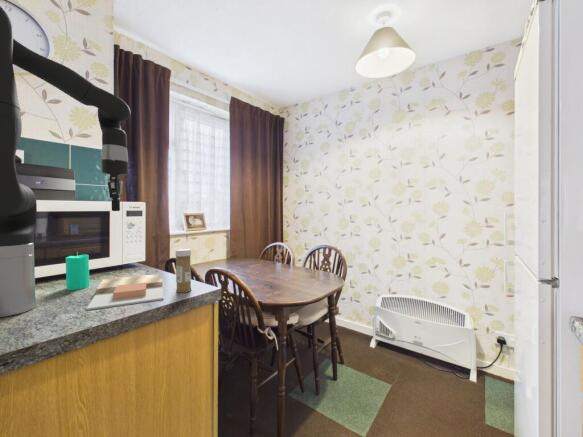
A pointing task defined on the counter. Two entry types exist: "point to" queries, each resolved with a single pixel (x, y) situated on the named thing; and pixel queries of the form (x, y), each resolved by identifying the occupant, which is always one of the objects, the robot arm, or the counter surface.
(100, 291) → the deck
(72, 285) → the candle
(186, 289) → the sprinkles bottle
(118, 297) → the tile
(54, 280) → the counter surface
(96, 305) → the mat
